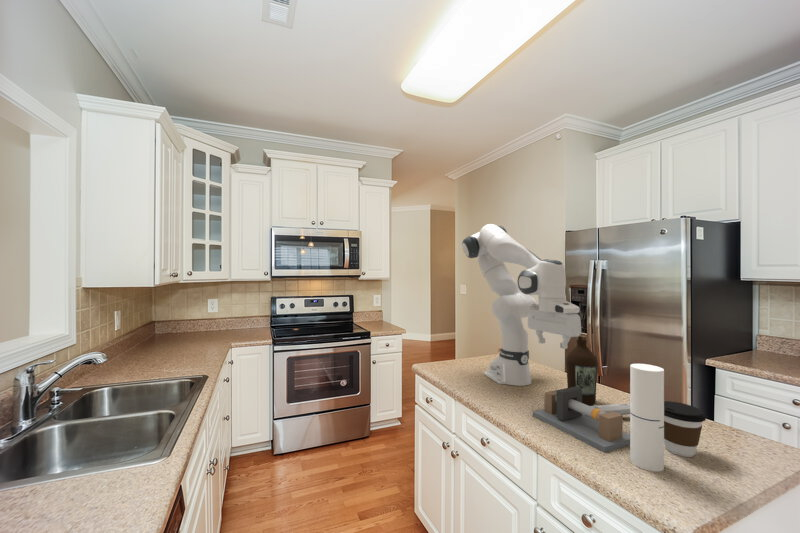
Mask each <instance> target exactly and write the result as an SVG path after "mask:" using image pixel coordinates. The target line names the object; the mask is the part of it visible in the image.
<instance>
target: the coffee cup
mask: <svg viewBox="0 0 800 533" xmlns="http://www.w3.org/2000/svg"><path fill="white" fill-rule="evenodd" d="M706 420H707V419H706V415H705V414H704V412H703V411H702V409H700V408H698V407H695V406H693V405H690V404H687V403H683V402H678V401H669V400H668V401H667V400H664V448H665V449H666V450H667V451H668V452H670V453H672V454H673V455H676V456H680V457H685V458H692V457H694V456H695V455H696V453H697V447H698V446H699V442H700V438H701V433H702V428H703V425H702V424H703V422H706Z"/></svg>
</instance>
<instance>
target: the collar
mask: <svg viewBox="0 0 800 533" xmlns="http://www.w3.org/2000/svg"><path fill="white" fill-rule="evenodd" d="M556 390H557V418H558V419H560V420H562V421H563V420H567V419H571V418H575V417H579V416H582V413H580V412H577V411H575V410H573V409H570V408H568V399H573V400H576V401H578V402H581V403H582V388H579V387H576V386H575V387H570V388H568V387H565V388H560V389H556Z"/></svg>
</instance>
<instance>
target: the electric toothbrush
mask: <svg viewBox="0 0 800 533" xmlns="http://www.w3.org/2000/svg"><path fill="white" fill-rule="evenodd" d="M591 407H593V408H597V409H600V410H602V411H604V412H606V413H608V412H612V411H613V412H616V413H618V414H621V415H623V416H624V415H626V416H627V415H630V402H627V403H615V404H602V405H601V404H599V405H598V404H595V405H593V406H591ZM586 416H587V415H586ZM588 417H589V416H588Z"/></svg>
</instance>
